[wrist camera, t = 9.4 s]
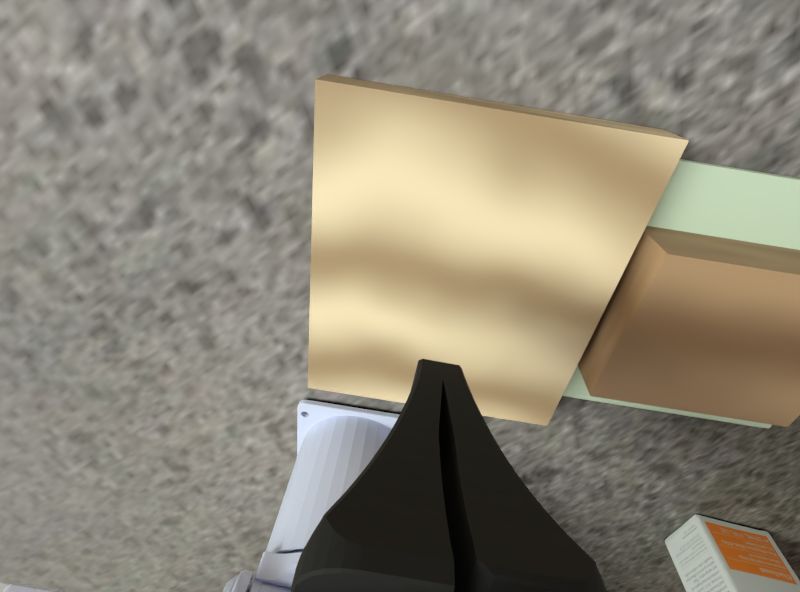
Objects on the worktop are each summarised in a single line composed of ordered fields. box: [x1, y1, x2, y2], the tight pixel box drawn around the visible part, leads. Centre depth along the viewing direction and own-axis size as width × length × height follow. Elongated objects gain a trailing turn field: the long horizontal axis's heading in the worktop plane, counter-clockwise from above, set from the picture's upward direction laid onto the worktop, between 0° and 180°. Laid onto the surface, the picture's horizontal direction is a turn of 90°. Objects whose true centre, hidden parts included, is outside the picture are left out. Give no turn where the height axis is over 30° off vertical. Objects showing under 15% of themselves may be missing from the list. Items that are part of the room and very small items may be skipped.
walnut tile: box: [578, 226, 800, 427], centre depth 20 cm, size 8×10×3 cm
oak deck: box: [308, 74, 689, 426], centre depth 21 cm, size 16×14×2 cm
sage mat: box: [562, 159, 800, 429], centre depth 21 cm, size 14×13×1 cm
